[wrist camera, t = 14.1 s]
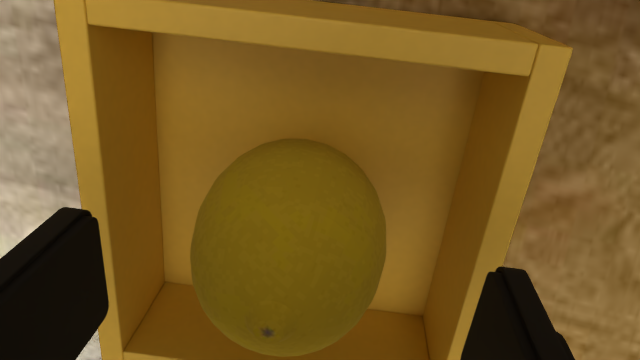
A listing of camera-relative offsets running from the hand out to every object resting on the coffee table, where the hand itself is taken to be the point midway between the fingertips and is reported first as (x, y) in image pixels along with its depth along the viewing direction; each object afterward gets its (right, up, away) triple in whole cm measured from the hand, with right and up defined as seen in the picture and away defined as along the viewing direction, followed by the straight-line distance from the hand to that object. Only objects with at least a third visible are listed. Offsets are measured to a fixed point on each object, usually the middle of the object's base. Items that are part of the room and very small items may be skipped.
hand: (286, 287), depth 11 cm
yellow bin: (0, +3, +7) cm, 7 cm away
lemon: (0, +3, +6) cm, 7 cm away
